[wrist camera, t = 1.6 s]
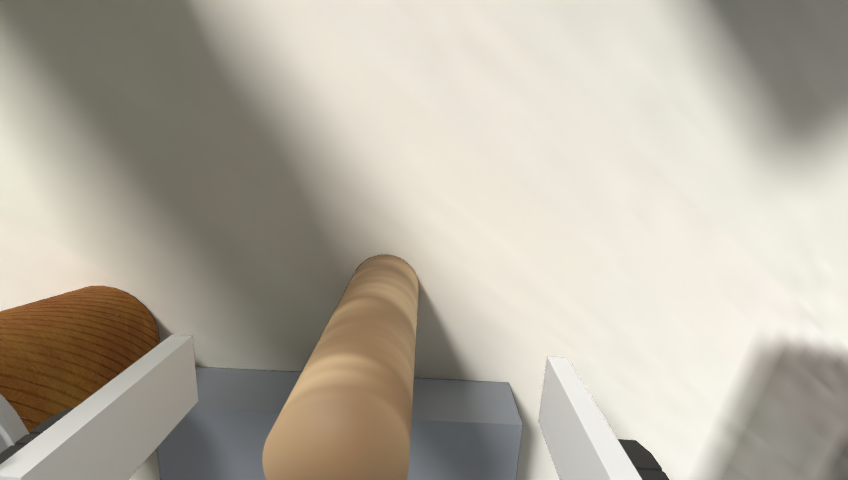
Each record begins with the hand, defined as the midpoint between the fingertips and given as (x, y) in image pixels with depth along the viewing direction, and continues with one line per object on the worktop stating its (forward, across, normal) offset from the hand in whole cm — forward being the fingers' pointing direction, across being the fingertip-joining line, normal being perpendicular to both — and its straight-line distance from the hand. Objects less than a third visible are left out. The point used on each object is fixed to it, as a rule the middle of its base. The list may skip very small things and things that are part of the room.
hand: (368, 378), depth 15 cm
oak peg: (+10, 0, 0) cm, 10 cm away
